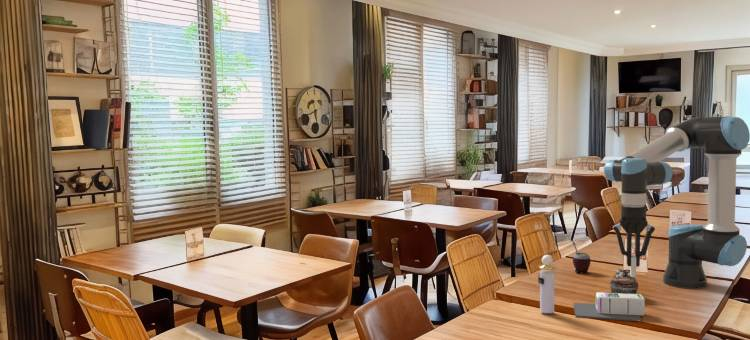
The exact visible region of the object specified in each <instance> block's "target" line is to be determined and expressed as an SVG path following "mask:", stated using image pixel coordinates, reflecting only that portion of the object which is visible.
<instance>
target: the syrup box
mask: <svg viewBox="0 0 750 340" xmlns="http://www.w3.org/2000/svg"><path fill="white" fill-rule="evenodd" d="M645 302H646V299H645V298H644V296H643V295H642V294H641V293H636V294H627V293H611V292H601V291H600V292H599V291H598V292H596V293H595V304H596V309H597V311H598V313H604V314H623V315H639V316H645V312H646V311H645V310H646V309H645V308H646V306H645V304H646V303H645Z"/></svg>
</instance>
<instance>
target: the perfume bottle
mask: <svg viewBox="0 0 750 340" xmlns="http://www.w3.org/2000/svg"><path fill="white" fill-rule="evenodd" d="M553 258H554V257H552V255H550V254H543V256H542V258H541V263H542V264H538V265H537V266H538V269H540V271H539V275H538V276H537V277H538V282H537V283H538V284H539V311H540V312H541V313H544V314H553V313H555V270H556V269H557V265H555V264H553V263H554V259H553Z"/></svg>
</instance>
